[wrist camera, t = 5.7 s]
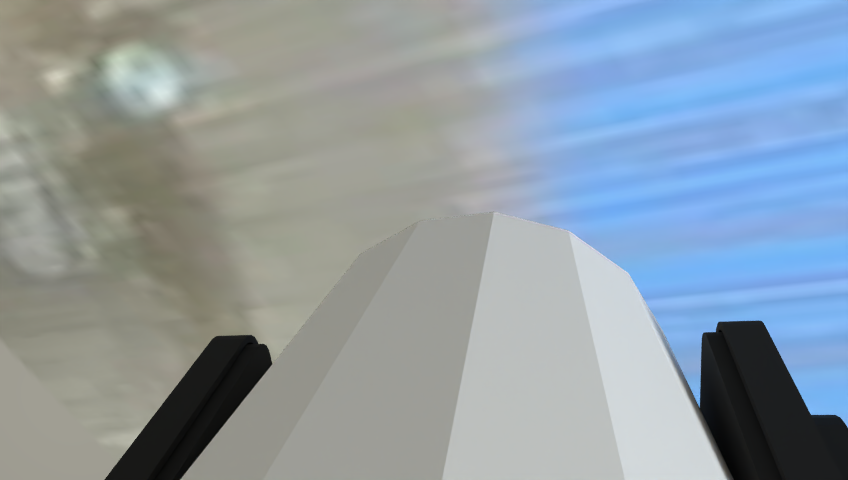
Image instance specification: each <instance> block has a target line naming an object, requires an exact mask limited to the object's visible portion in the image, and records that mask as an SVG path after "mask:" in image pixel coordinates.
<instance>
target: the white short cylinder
mask: <svg viewBox="0 0 848 480" xmlns="http://www.w3.org/2000/svg"><path fill="white" fill-rule="evenodd" d="M180 480H734V479H733V477H732V475H731V473H730V471H729V469H728V467H727V465H726V463H725V460H724V458H723V456H722V454H721V452H720V450H719V448H718V446H717V444H716V442H715V439H714V437H713V435H712V433H711V431H710V429H709V427H708V425H707V423H706V421H705V419H704V416H703V414H702V412H701V410H700V408H699V406H698V404H697V402H696V400H695V398H694V395H693V393H692V391H691V389H690V387H689V385H688V383H687V381H686V379H685V377H684V375H683V372H682V370H681V368H680V366H679V364H678V362H677V360H676V358H675V356H674V354H673V352H672V349H671V347H670V345H669V343H668V341H667V339H666V337H665V335H664V333H663V331H662V329H661V327H660V326H659V324H658V322H657V321H656V319H655V317H654V316H653V314H652V312H651V311H650V309H649V307H648V305H647V304H646V302H645V300H644V299H643V297H642V295H641V294H640V292H639V290H638V289H637V287H636V285H635V284H634V282H633V280H632V279H631V277H630V275H629V274H628V273H627V272H626V271H624V270H623V269H622V268H620V267H619V266H617V265H616V264H615V263H613V262H612V261H610V260H609V259H608V258H606V257H605V256H603V255H602V254H601V253H599V252H598V251H596V250H595V249H594V248H592V247H591V246H589V245H588V244H587V243H585V242H584V241H582V240H581V239H580V238H578V237H577V236H575V235H574V234H573V233H571V232H570V231H568V230H564V229H560V228H556V227H552V226H548V225H544V224H540V223H536V222H532V221H529V220H525V219H521V218H517V217H513V216H509V215H505V214H501V213H497V212H489V213H481V214H472V215H464V216H455V217H447V218H439V219H430V220H422V221H419V222H417V223H415V224H413V225H412V226H410V227H408V228H406V229H404V230H403V231H401V232H399V233H397V234H395V235H394V236H392V237H390V238H388V239H386V240H385V241H383V242H381V243H379V244H377V245H376V246H374V247H372V248H370V249H368V250H367V251H365V252H363V253H361V254H360V255H359V256H358V257H357V259H356V260H355V261H354V262H353V264H352V265H351V266H350V268H349V269H348V270H347V271H346V273H345V274H344V275H343V276H342V278H341V279H340V280H339V281H338V283H337V284H336V285H335V286H334V288H333V289H332V290H331V291H330V293H329V294H328V295H327V296H326V298H325V299H324V300H323V301H322V303H321V304H320V305H319V306H318V308H317V309H316V310H315V311H314V313H313V314H312V315H311V316H310V318H309V319H308V320H307V321H306V323H305V324H304V325H303V326H302V328H301V329H300V330H299V331H298V333H297V334H296V335H295V336H294V338H293V339H292V340H291V341H290V343H289V344H288V345H287V346H286V348H285V349H284V350H283V352H282V353H281V354H280V355H279V357H278V358H277V359H276V360H275V362H274V363H273V364H272V365H271V367H270V368H269V369H268V370H267V372H266V373H265V374H264V375H263V377H262V378H261V379H260V380H259V382H258V383H257V384H256V385H255V387H254V388H253V389H252V390H251V392H250V393H249V394H248V395H247V397H246V398H245V399H244V400H243V402H242V403H241V404H240V405H239V407H238V408H237V409H236V410H235V412H234V413H233V414H232V415H231V417H230V418H229V419H228V420H227V422H226V423H225V424H224V425H223V427H222V428H221V429H220V430H219V432H218V433H217V434H216V436H215V437H214V438H213V439H212V441H211V442H210V443H209V444H208V446H207V447H206V448H205V449H204V451H203V452H202V453H201V454H200V456H199V457H198V458H197V459H196V461H195V462H194V463H193V464H192V466H191V467H190V468H189V469H188V471H187V472H186V473H185V474H184V476H183V477H182V478H181V479H180Z"/></svg>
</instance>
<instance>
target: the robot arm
mask: <svg viewBox="0 0 848 480" xmlns="http://www.w3.org/2000/svg"><path fill="white" fill-rule="evenodd" d="M271 365H272V361H271V357H270V353H269V349H268V348H267V346H266V345H265V344H258V342H257V340H256V339H255V337H254V336H252V335H237V336H216V337H214V338H213V339H212V340H211V342H210V343H209V344H208V346H207V347H206V348H205V349H204V351H203V352H202V353H201V355H200V356H199V357H198V359H197V360H196V361H195V362H194V364H193V365H192V366H191V368H190V369H189V370H188V372H187V373H186V374H185V376H184V377H183V378H182V379H181V381H180V382H179V383H178V385H177V386H176V387H175V389H174V390H173V391H172V392H171V394H170V395H169V396H168V398H167V399H166V400H165V402H164V403H163V404H162V406H161V407H160V408H159V409H158V411H157V412H156V413H155V415H154V416H153V417H152V419H151V420H150V421H149V422H148V424H147V425H146V426H145V428H144V429H143V430H142V432H141V433H140V434H139V435H138V437H137V438H136V439H135V441H134V442H133V443H132V445H131V446H130V447H129V449H128V450H127V451H126V452H125V454H124V455H123V456H122V458H121V459H120V460H119V462H118V463H117V464H116V465H115V467H114V468H113V469H112V471H111V472H110V473H109V475H108V476H107V477H106V479H105V480H180V479H181V478H182V477H183V476H184V474H185V473H186V472H187V471H188V469H189V468H190V467H191V466H192V464H193V463H194V462H195V461H196V459H197V458H198V457H199V456H200V454H201V453H202V452H203V451H204V449H205V448H206V447H207V446H208V444H209V443H210V442H211V441H212V439H213V438H214V437H215V436H216V434H217V433H218V432H219V430H220V429H221V428H222V427H223V425H224V424H225V423H226V422H227V420H228V419H229V418H230V417H231V415H232V414H233V413H234V412H235V410H236V409H237V408H238V407H239V405H240V404H241V403H242V402H243V400H244V399H245V398H246V397H247V395H248V394H249V393H250V392H251V390H252V389H253V388H254V387H255V385H256V384H257V383H258V382H259V380H260V379H261V378H262V377H263V375H264V374H265V373H266V372H267V370H268V369H269V368H270V367H271ZM700 410H701V412H702V414H703V416H704V419H705V421H706V423H707V425H708V427H709V429H710V431H711V433H712V435H713V437H714V439H715V442H716V444H717V446H718V448H719V450H720V452H721V454H722V456H723V458H724V460H725V463H726V465H727V467H728V469H729V471H730V473H731V475H732V477H733V479H734V480H848V428H847V426H846V424H845V423H844V422H843V420H842V419H841V418H840V417H838V416H836V415H811V414H810V412H809V411H808V409H807V407H806V405H805V403H804V401H803V399H802V397H801V395H800V393H799V391H798V389H797V387H796V385H795V383H794V381H793V379H792V377H791V375H790V374H789V372H788V370H787V368H786V366H785V364H784V362H783V360H782V358H781V356H780V354H779V352H778V350H777V348H776V346H775V344H774V342H773V340H772V338H771V337H770V335H769V333H768V331H767V329H766V327H765V325H764V323H763V322H762V321H732V322H719V323H718V324H717V328H716V332H706V333H703V336H702V352H701V389H700Z"/></svg>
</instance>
